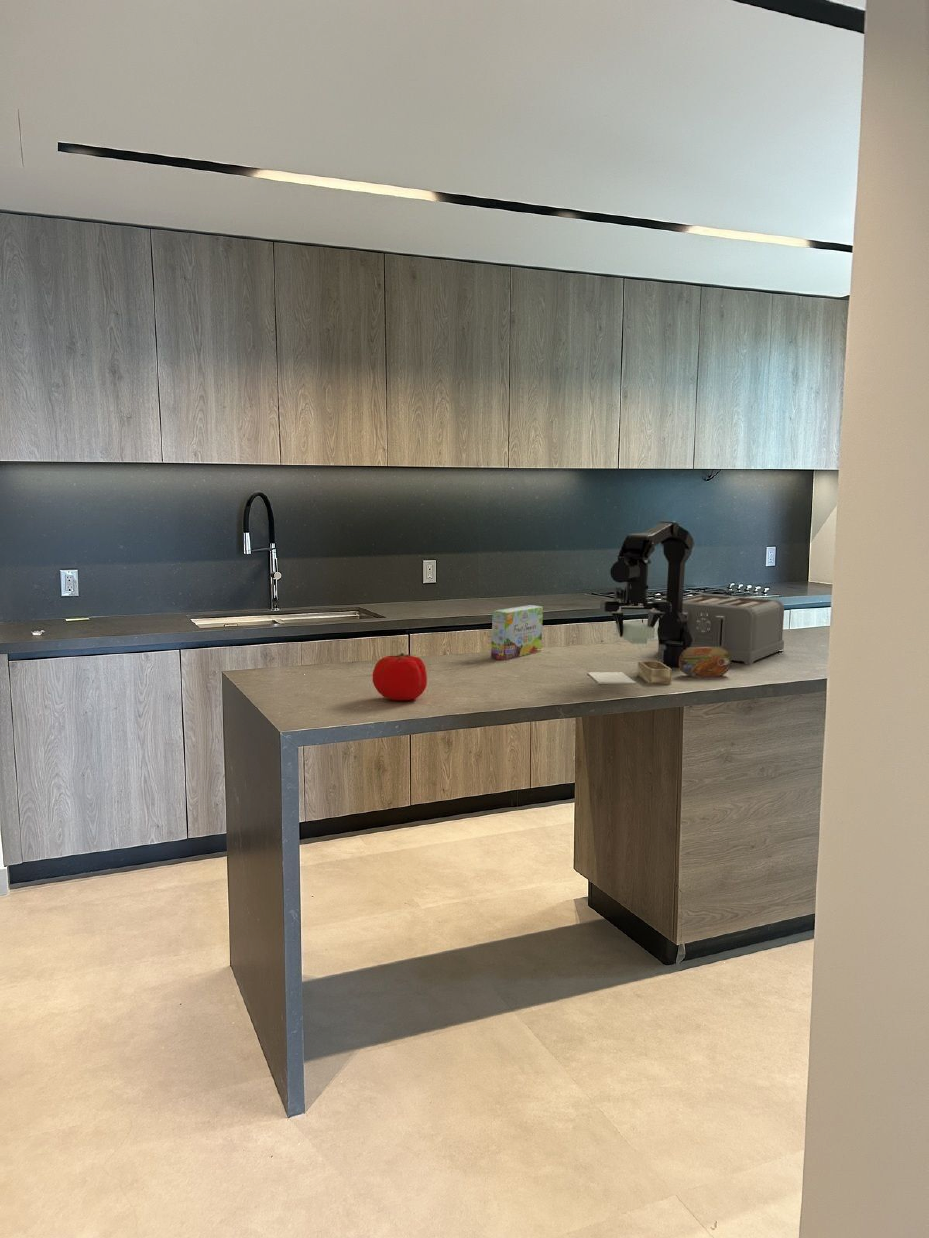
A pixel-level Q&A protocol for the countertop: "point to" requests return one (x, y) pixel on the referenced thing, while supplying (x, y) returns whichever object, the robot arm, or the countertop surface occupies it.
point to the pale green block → (637, 632)
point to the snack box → (516, 631)
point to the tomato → (400, 677)
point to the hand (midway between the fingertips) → (634, 637)
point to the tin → (705, 661)
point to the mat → (611, 678)
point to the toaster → (735, 625)
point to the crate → (654, 672)
